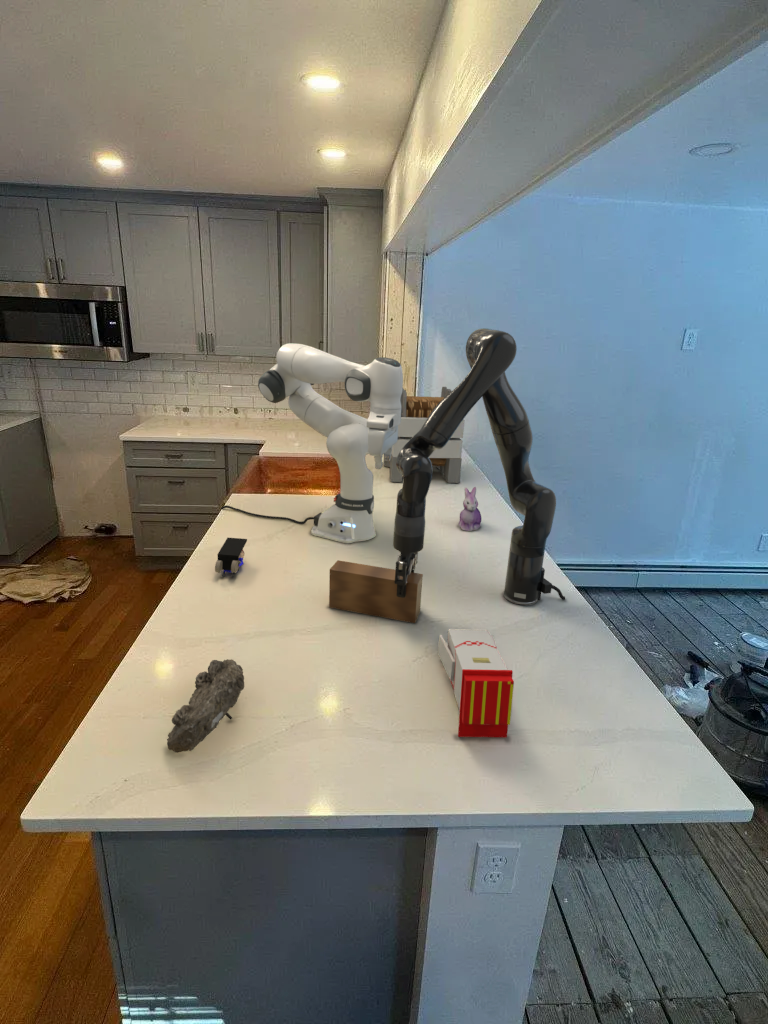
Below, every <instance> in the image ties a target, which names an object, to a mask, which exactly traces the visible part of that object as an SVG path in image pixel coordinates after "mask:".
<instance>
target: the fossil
mask: <svg viewBox="0 0 768 1024" xmlns="http://www.w3.org/2000/svg"><path fill="white" fill-rule="evenodd" d="M243 670H244V669H243V667H242V665H240V664H237V662H236V661H235V660H234V659H232V658H231V659H227V658H226V659H224V660H223V661H222V660H217V659H212V660H211V661H210V663H209V665H208V666H207V671H201V672H199V673H198V674H197V675H196V676H195V680H194V684H195V685H194V687H195V689H194V690H193V693H192V694H191V697H190V698H189V700H188V704H184V705H182V706H181V707H180V709H177V710H176V711H175V713H174V715H173V716H172V718H171V723H172V724H173V727H172V730H171V731H170V732H168V734H167V738H166V741H167V742H166V745H167V749H168V750H169V751H173V752H174V753H176V754H178V753H182V752H188V751H189V752H192V751H193V750H195V748H196V747H197V746H199V744H200V743H201V742H203V741H204V740H205V739H206V738H207V737H208V736H209V735H210V734H211V733H212V732H214V730H215V729H217V727H218V726H219V724H220V722H221V721H222V720H223V719H224V718H225V716H226V717H227V719H229V720H233V717H232V715H230V714H229V710H230V709H231V708H234V706H235V704H236V703H237V702H238V699H239V697H240V695H241V693H242V691H243V690H245V689H244V688H245V675H244V671H243Z"/></svg>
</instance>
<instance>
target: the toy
mask: <svg viewBox="0 0 768 1024" xmlns="http://www.w3.org/2000/svg"><path fill="white" fill-rule="evenodd" d="M446 640H447V643H446V641H445V639H444V636H443V635H442V634H439V637H438V646H437V656H438V657H439V659H440V661H441V663H442V666H443V668H444V670H445V672H446V674H447V677H448V679H449V681H450V684H451V687H452V690H453V693H454V697H455V701H456V705H457V708H458V711H459V714H458V715H459V716H458V730H457V731H458V732H457V737H458V738H508V731H509V726H510V725H511V717H512V707H513V697H514V696H513V695H514V684H515V680H514V679H513V673H514V671H513V670H512V669H508V667H507V665H506V662H505V661H504V659H503V658H502V655H501V653H500V651H499V649H498V647H497V643H496V639H495V637H494V635H493V634H491V632H490V631H489V629H467V628H466V629H465V628H463V629H461V628H460V629H459V628H448V630H447V639H446Z"/></svg>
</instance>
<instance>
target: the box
mask: <svg viewBox="0 0 768 1024" xmlns="http://www.w3.org/2000/svg"><path fill="white" fill-rule="evenodd" d="M395 571H396V569H393V568H387V567H381V566H375V565H370V564H369V565H368V564H363V563H356V562H351V561H346V560H345V561H344V560H337V561H335V563H334V564H333V565H332V566H331V567H330V568H329V584H328V588H329V589H328V590H329V593H328V594H329V595H328V607H329V608H331V609H337V610H340V611H341V610H342V611H347V612H351V613H352V612H353V613H359V614H363V615H369V616H374V617H379V618H385V619H390V620H394V621H395V620H396V621H401V622H407V623H412V624H416V622H417V620H418V618H419V615H420V613H421V606H422V591H423V578H424V574H423V573H418V572H414V573H413V572H411V574H410V576H408V579H407V585H406V596H405V597H404V598H402V597H397V584H395V582H394V581H395ZM406 572H407V571H406ZM400 579H403V577H402V576H400Z"/></svg>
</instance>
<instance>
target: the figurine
mask: <svg viewBox="0 0 768 1024" xmlns="http://www.w3.org/2000/svg"><path fill="white" fill-rule="evenodd" d="M476 494H477V487H476V486H474V487H473V488H472V489H471V491H470V490H469V488H467V487H464V499H463V501H462V506H463V509H462V510H461V511H460V513H459V521H458V527H459V528H460V529H461V530H463V531H469V532H472V531H476V530H478V529H479V528H481V523H482V514H481V512H480V510H479V508H478V507H479V501H478V498H477V497H476Z"/></svg>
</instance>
